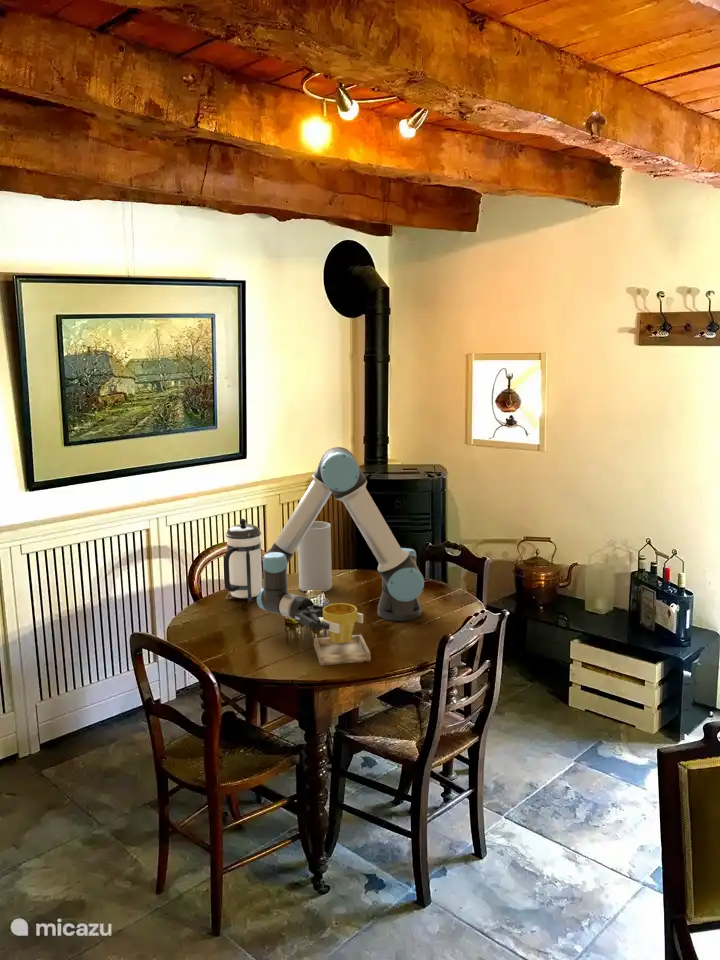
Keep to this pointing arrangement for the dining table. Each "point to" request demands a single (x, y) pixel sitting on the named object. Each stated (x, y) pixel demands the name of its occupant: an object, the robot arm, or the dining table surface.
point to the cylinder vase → (315, 558)
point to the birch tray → (341, 651)
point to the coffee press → (243, 561)
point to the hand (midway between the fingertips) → (350, 623)
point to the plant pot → (341, 620)
